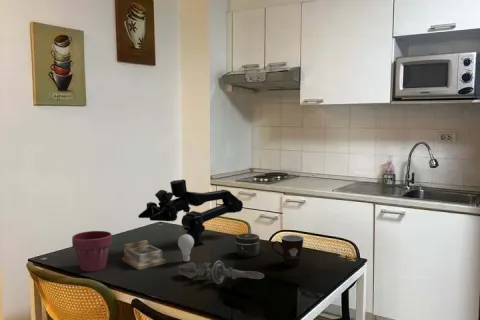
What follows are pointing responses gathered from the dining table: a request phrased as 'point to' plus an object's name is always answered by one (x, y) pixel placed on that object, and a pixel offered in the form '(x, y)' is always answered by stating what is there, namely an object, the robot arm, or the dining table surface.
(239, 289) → the dining table surface
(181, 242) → the lightbulb
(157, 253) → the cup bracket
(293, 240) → the coffee mug
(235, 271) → the spaceship
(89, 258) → the plant pot
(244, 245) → the jar
